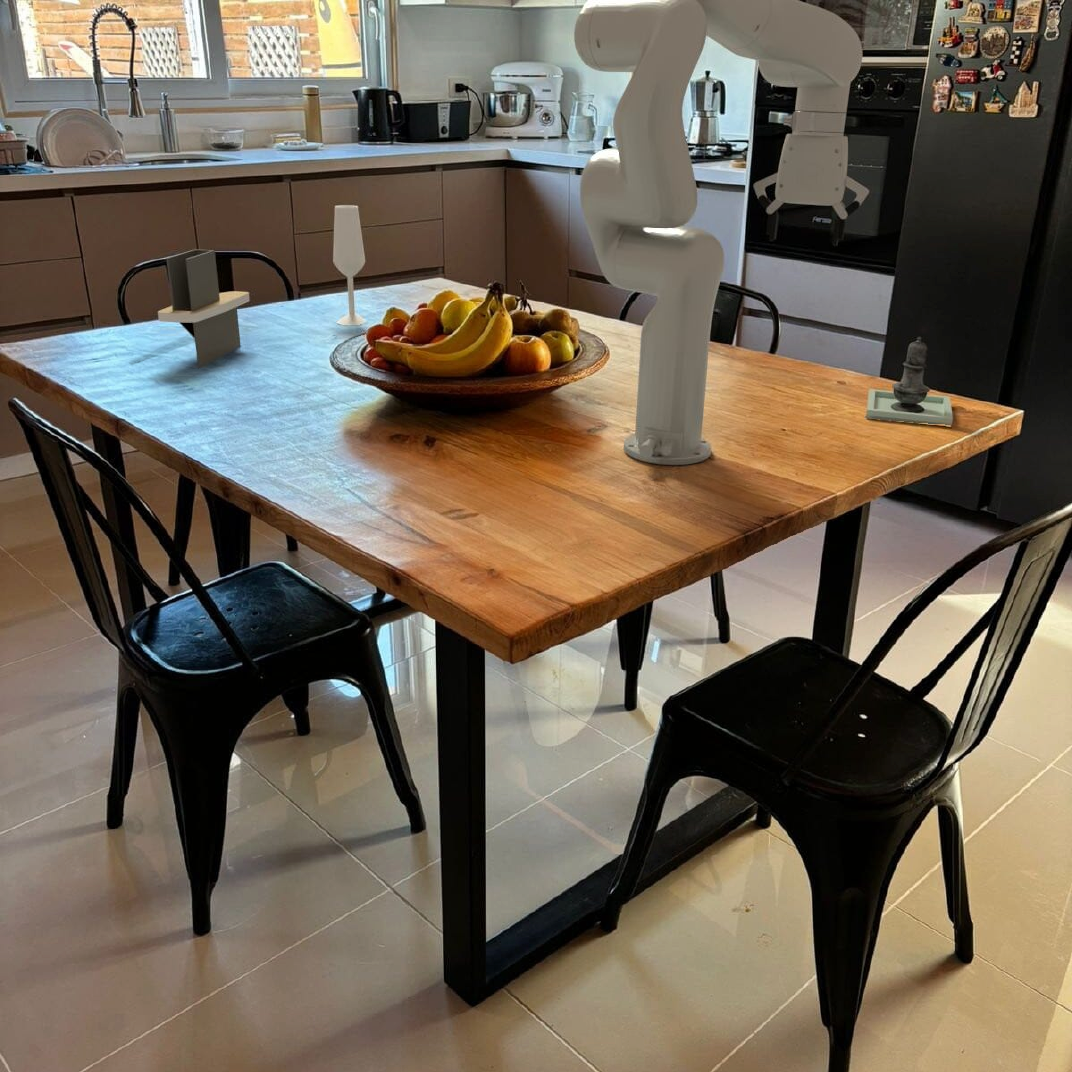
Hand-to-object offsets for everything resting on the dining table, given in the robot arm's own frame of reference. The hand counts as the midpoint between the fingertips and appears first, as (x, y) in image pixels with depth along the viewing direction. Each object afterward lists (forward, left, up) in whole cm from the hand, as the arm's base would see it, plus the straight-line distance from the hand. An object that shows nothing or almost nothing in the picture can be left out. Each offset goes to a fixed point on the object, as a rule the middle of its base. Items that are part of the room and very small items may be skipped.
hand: (803, 242), depth 165 cm
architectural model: (-7, +106, -27) cm, 109 cm away
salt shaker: (+4, -20, -26) cm, 33 cm away
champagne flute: (+30, +95, -27) cm, 103 cm away
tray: (+4, -20, -27) cm, 33 cm away
